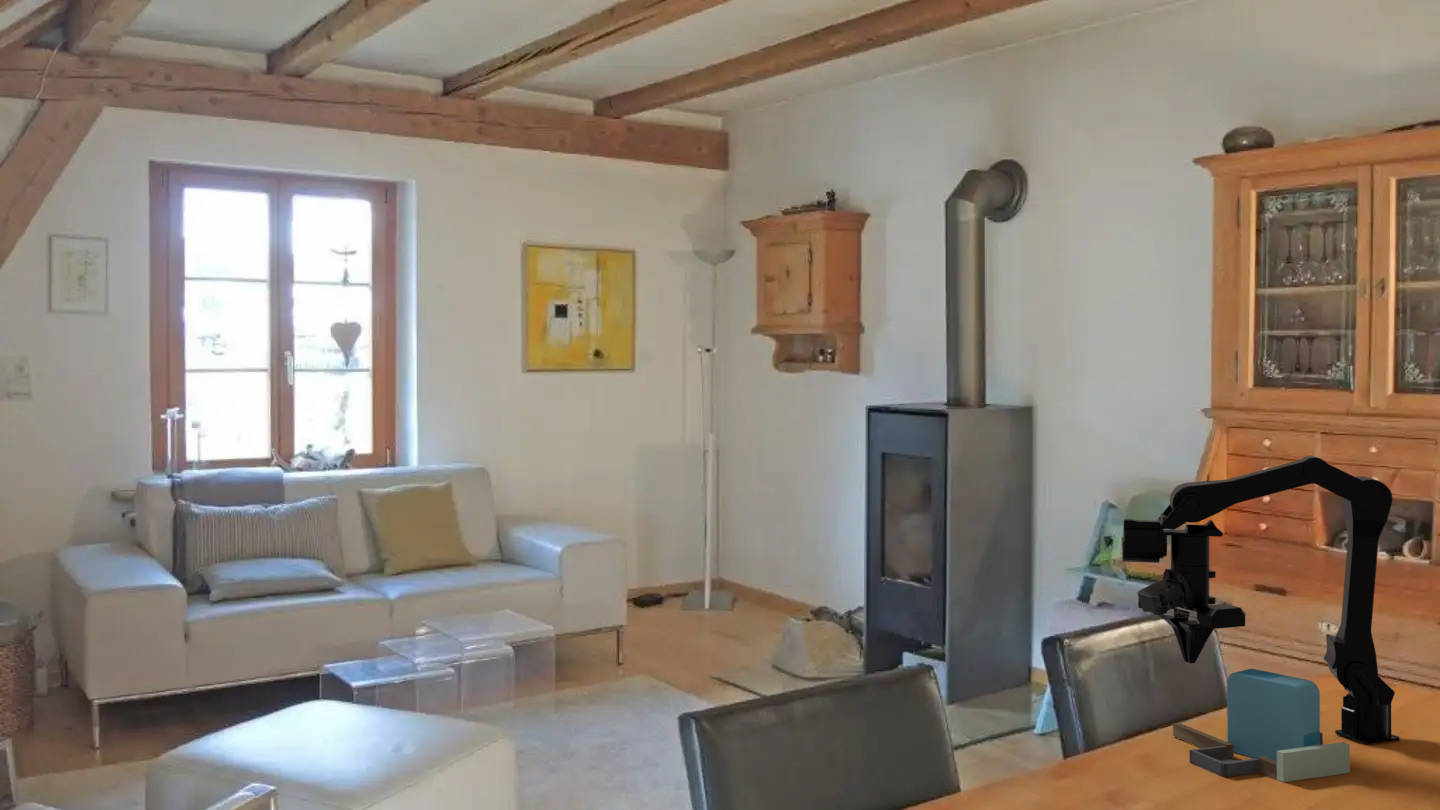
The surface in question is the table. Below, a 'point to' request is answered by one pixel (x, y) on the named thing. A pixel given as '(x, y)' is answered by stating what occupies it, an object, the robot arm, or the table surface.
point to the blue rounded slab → (1271, 713)
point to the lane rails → (1207, 740)
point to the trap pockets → (1224, 761)
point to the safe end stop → (1313, 761)
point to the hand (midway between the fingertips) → (1189, 662)
